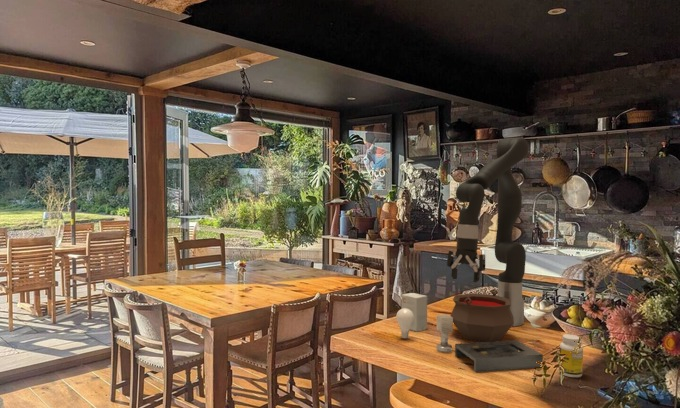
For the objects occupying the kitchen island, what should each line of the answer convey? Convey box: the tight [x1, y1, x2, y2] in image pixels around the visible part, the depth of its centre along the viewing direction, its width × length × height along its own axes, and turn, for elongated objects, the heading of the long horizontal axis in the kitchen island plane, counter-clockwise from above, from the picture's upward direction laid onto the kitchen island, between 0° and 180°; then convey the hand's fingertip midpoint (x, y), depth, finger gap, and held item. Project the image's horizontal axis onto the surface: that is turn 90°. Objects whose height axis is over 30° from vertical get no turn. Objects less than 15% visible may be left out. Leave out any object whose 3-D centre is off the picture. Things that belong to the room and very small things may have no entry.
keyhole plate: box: [454, 339, 544, 373], centre depth 146 cm, size 22×14×4 cm, turn 101°
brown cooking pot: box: [449, 288, 514, 342], centre depth 172 cm, size 24×24×16 cm
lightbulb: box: [395, 308, 414, 340], centre depth 168 cm, size 6×6×11 cm
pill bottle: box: [558, 333, 584, 378], centre depth 137 cm, size 6×6×11 cm
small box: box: [401, 292, 428, 332], centre depth 182 cm, size 8×6×13 cm
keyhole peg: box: [436, 314, 454, 354], centre depth 157 cm, size 5×5×12 cm
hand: (464, 280), depth 174 cm, fingers open, 8 cm apart
